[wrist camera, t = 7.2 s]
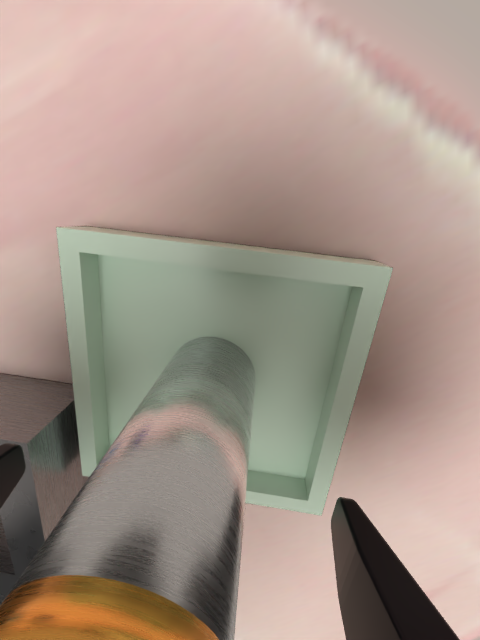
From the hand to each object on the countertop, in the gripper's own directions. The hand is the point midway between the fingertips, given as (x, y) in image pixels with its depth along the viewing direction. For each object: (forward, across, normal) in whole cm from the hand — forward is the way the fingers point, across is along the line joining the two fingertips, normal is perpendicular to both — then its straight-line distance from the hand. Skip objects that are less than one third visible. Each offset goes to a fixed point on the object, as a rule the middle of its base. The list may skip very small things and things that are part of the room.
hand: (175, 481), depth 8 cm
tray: (+6, 0, 0) cm, 6 cm away
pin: (+6, 0, 0) cm, 6 cm away
